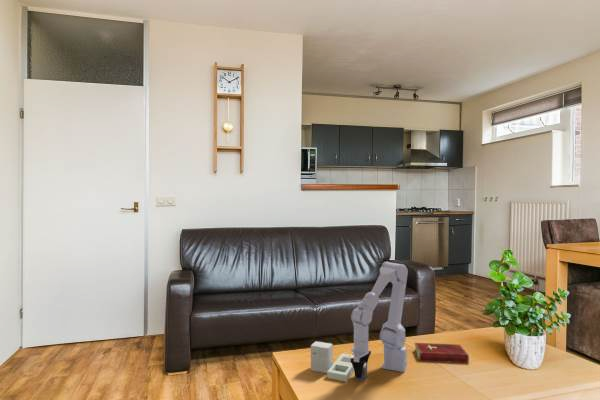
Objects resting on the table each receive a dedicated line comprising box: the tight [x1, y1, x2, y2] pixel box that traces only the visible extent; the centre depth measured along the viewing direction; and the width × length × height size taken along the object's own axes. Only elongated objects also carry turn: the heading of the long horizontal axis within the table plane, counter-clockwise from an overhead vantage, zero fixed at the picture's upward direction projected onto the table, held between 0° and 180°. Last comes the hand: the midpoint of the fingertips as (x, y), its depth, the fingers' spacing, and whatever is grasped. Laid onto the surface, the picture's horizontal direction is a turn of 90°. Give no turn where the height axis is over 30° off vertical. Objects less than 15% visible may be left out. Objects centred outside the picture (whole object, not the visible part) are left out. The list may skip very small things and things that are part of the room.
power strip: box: [326, 352, 354, 383], centre depth 163 cm, size 8×27×3 cm, turn 156°
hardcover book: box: [413, 342, 470, 363], centre depth 174 cm, size 12×21×4 cm, turn 84°
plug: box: [354, 362, 368, 382], centre depth 152 cm, size 4×4×6 cm
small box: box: [310, 341, 334, 374], centre depth 160 cm, size 8×6×10 cm
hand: (360, 373), depth 152 cm, fingers open, 7 cm apart
